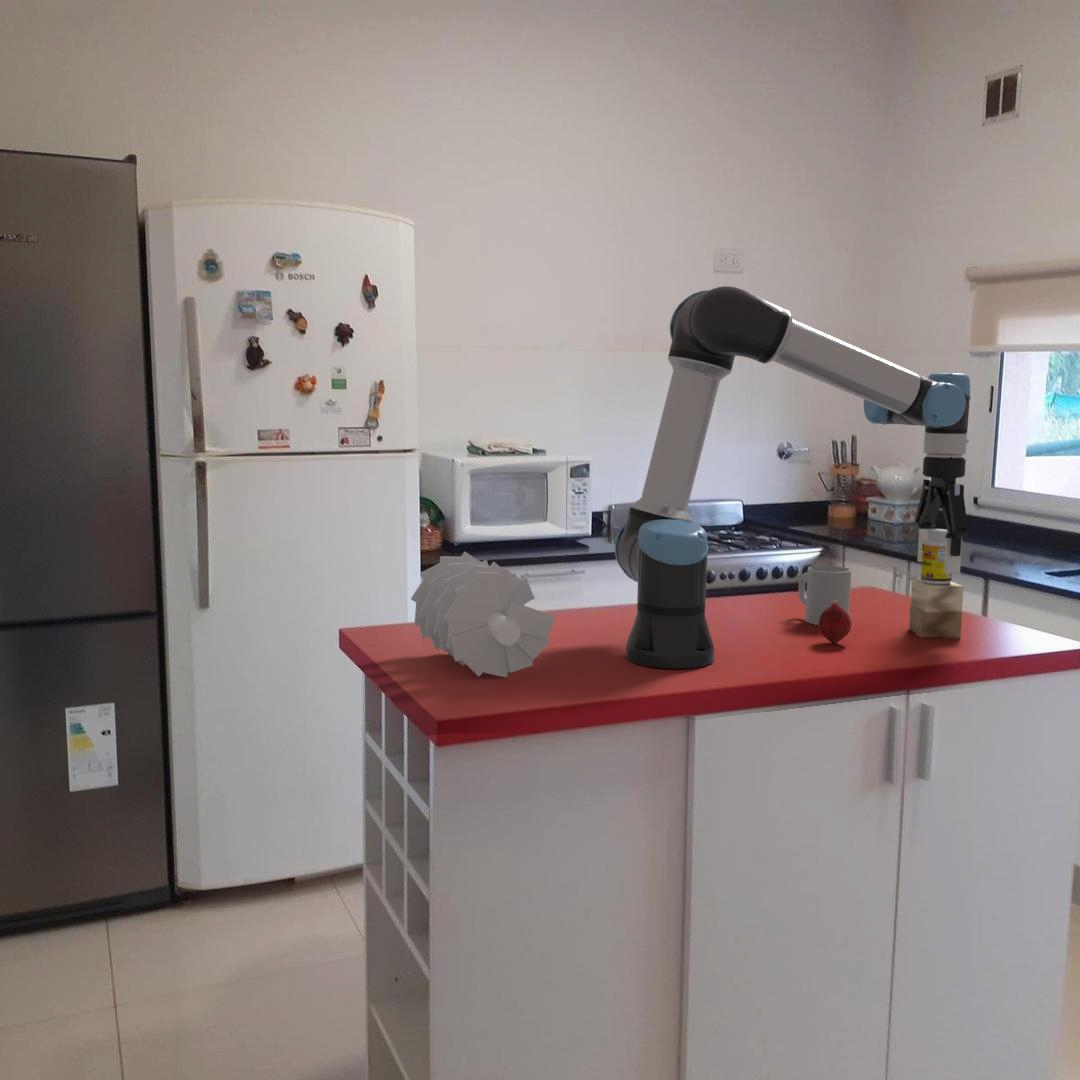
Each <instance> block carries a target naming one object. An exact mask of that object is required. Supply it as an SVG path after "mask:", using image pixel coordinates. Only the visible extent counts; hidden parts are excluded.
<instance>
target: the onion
mask: <svg viewBox="0 0 1080 1080" xmlns="http://www.w3.org/2000/svg"><path fill="white" fill-rule="evenodd" d="M818 629H819V631H820V633H821V635H822V636H823V637H824V638H825V639H826V640H828V641H829V642H830V643H831V644H833V643H836V644H838V643H839V642H840V641H841V640H843V639H844V638H845V637H846V636H848V635H849V634H850V632H851V629H852V618H851V616H850V614H849V615H848V613H847V612H846V611H845V610H844V609H843V608H842V607H840V605H839V602H838V601H833V604H832V606H830V607H829V608H827V609H826V610H825V611H824V612H823V613H822V614H821V616H820V619H819V626H818Z"/></svg>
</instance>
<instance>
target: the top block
mask: <svg viewBox="0 0 1080 1080" xmlns="http://www.w3.org/2000/svg"><path fill="white" fill-rule="evenodd" d="M911 585H912V586H911V595H910V596H911V598H910V599H911V600H910V605H912V606H914V607H916V608H918V609H920V610H922V611H924V612H961V613H963V600H964V599H963V597H964V586H963V585H961V584H958V583H957V582H955V581H952V580H951V583H949V584H945V585H935V584H927V583H924V582H922V580H921V579H912V582H911Z"/></svg>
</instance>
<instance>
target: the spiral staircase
mask: <svg viewBox="0 0 1080 1080" xmlns="http://www.w3.org/2000/svg"><path fill="white" fill-rule="evenodd" d="M419 574H420V576H421V579H422V581H421V582H420V584H419V585H418V587H417V588H416V590H415V592H414V593H413V594H412V595H411V597H410V600H411V601H412V602H415V612H414V613H415V614H414V626H415V627H417V626H418V627H419V631H420V635H421V638H422V639H427V638H429V639H430V640H431V641H432V644H433V647H434V650H439V649H441V650H442V651H443V652H444V653H445V652H446V653H447V654H449V655H450V656H451V657H453V659H454V662H459V663H460V665H461V666H462V667H463V666H465V665H467V667H468V668H469V669H470V670H471V671H472V672H473V673H474V674H475V675H476V676H477V677H480V676H481V675H483V673H484V674H489V675H493V676H497V677H503V678H507V677H508V674H510V673H514V672H516V671H520V670H523V669H526V668H529V667H531V666H533V665H534V663H533V661H534V660H535V659H536V658H537V657H538V656H539V654H541V653H542V652H543V651H544V650H545V648H546V647H547V646H548V645H549V644H550V643H551V641H550V640H549V636H550V633H551V630H552V628H553V627H552V626H553V623H554V620H555V617H556V614H554V613H550V612H545V611H542V610H538V609H536V608H533V607H531V606H530V607H529V606H526V605H525V604H527V603H529V602H530V601H532V600H535V596H534V593H533V590H532V588H531V586H530V583H529V581H528V579H527V577H526V576H524V577H522V578H519V577H518V576H517V574H516V573H515V572H513V573H512V572H511V571H509V570H508V569H507V568H505V567H503V566H500V565H498V564H497V563H496V562H495V561H493V562H491V564H490V565H489V563H488V560H487V559H485V560H483V561H482V560H481V561H480V560H479V559H476V558H475V557H473V556H472V555H471V554H470V553H468V552H466V551H464V552H463V553H462V554H461V556H448V555H447V556H443V555H442V556H441V555H440V557H439V563H437V564H435V565H433V566H431V567H429V568H427V569H426V570H423V571H422V572H420V573H419Z"/></svg>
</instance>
